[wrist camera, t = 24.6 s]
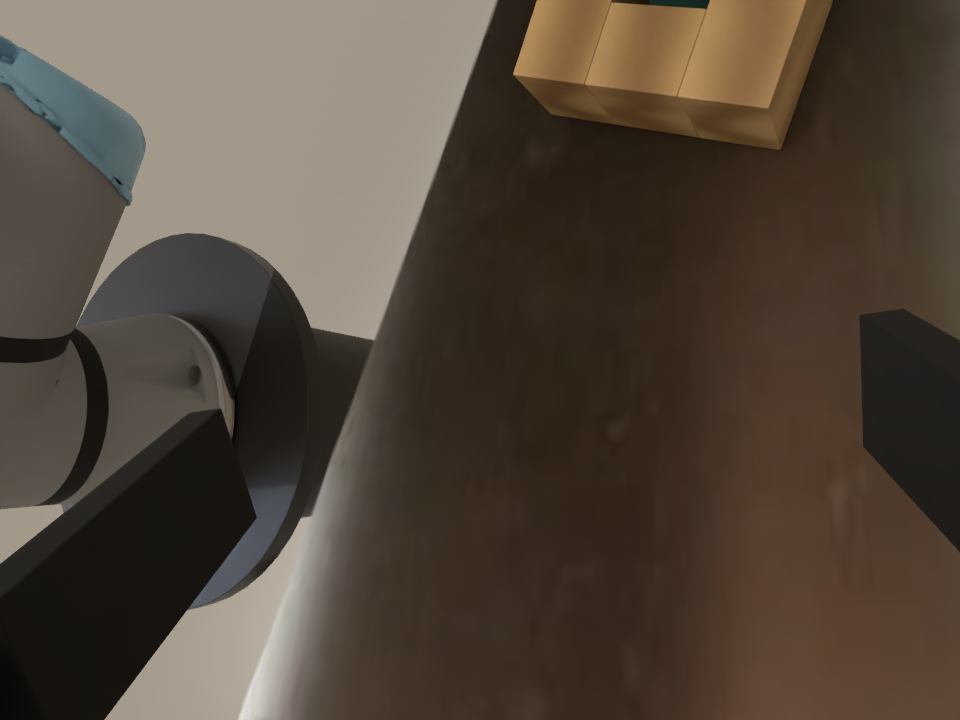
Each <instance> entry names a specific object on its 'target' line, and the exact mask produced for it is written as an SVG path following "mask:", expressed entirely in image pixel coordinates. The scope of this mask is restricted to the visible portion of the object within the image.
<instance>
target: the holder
mask: <svg viewBox="0 0 960 720" xmlns="http://www.w3.org/2000/svg"><path fill="white" fill-rule="evenodd" d="M832 3H833V0H710V2H709V5H708V8H707V10H706V9H701V8H687V7H672V6H658V5H651V4H650V2H649V0H537V2H536V5H535V8H534V12H533V15H532V18H531V21H530V24H529V27H528V30H527V33H526V36H525V39H524V42H523V45H522V49H521V52H520V55H519V58H518V61H517V64H516V67H515V70H514V73H513V75H514V76H515V77H516V78H517V79H518V80H519V81H520V82H521V83H522V85H523V86H524V87H525V88H526V89H527V90H528V91H529V92H530V93H531V94H532V95H533V96H534V97H535V98H536V99H537V100H538V101H539V102H540V103H541V104H542V105H543V106H544V107H545V108H546V109H547V110H548V112H549V113H550V114H552V115H558V116H564V117H571V118H577V119H583V120H590V121H596V122H602V123H609V124H617V125H622V126H629V127H635V128H641V129H648V130H654V131H660V132H667V133H673V134H679V135H686V136H692V137H700V138H705V139H711V140H717V141H724V142H730V143H736V144H743V145H749V146H755V147H761V148H768V149H774V150H781V148H782V145H783V142H784V139H785V136H786V133H787V131H788V128H789V125H790V122H791V119H792V116H793V114H794V111H795V108H796V105H797V102H798V99H799V97H800V94H801V91H802V88H803V85H804V82H805V79H806V77H807V74H808V71H809V68H810V65H811V62H812V60H813V57H814V54H815V51H816V48H817V45H818V42H819V40H820V37H821V34H822V31H823V28H824V25H825V23H826V20H827V17H828V14H829V11H830V8H831V6H832Z"/></svg>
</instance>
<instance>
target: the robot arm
mask: <svg viewBox="0 0 960 720" xmlns="http://www.w3.org/2000/svg"><path fill="white" fill-rule="evenodd" d="M145 146H146V143H145V138H144V135H143V132H142V129H141V127H140V126H139V124H138V123H137V121H136V120H135V119H134V118H133V117H132V116H131V115H130V114H128V113H127V112H126V111H124V110H123V109H121V108H120V107H119V106H117V105H115V104H114V103H112V102H111V101H109V100H108V99H106V98H104V97H103V96H101V95H100V94H98V93H96V92H95V91H93V90H92V89H90V88H88V87H87V86H85V85H83V84H82V83H80V82H79V81H77V80H75V79H74V78H72V77H70V76H69V75H67V74H65V73H64V72H62V71H60V70H59V69H57V68H55V67H54V66H52V65H50V64H49V63H47V62H45V61H44V60H42V59H40V58H38V57H37V56H35V55H33V54H32V53H30V52H28V51H27V50H25V49H23V48H21V47H18V46H17V45H15V44H14V43H12V41H10V40H8V39H6V38H4V37H3V36H1V35H0V509H7V508H19V507H29V506H41V505H54V504H62V505H66V506H70V507H71V508H70V509H68V510H67V511H66V512H65V513H63V514H62V515H61V516H60V517H59V518H57V519H56V520H55V521H53V522H52V523H51V524H50V525H48V527H46V528H45V529H44V530H42V531H41V532H40V533H38V534H37V535H36V536H35V537H34V538H32V539H31V540H30V541H28V542H27V543H26V544H25V545H24V546H22V547H21V548H20V549H18V550H17V551H16V552H15V553H14V554H12V555H11V556H10V557H8V558H7V559H6V560H5V561H3V562H2V563H1V564H0V720H104V719H105V718H106V717H107V715H108V714H109V713H110V711H111V710H112V709H113V707H114V706H115V705H116V703H117V702H118V701H119V700H120V698H121V697H122V696H123V694H124V693H125V692H126V690H127V689H128V688H129V686H130V685H131V684H132V682H133V681H134V680H135V678H136V677H137V676H138V674H139V673H140V672H141V670H142V669H143V668H144V666H145V665H146V664H147V662H148V661H149V660H150V658H151V657H152V656H153V654H154V653H155V652H156V651H157V649H158V648H159V647H160V645H161V644H162V642H163V641H164V640H165V639H166V637H167V636H168V635H169V633H170V632H171V631H172V629H173V628H174V627H175V625H176V624H177V623H178V621H179V620H180V619H181V617H182V616H183V615H184V613H185V612H186V611H187V609H188V608H189V607H190V605H191V604H192V603H193V601H194V600H195V599H196V598H197V596H198V595H199V594H200V592H201V591H202V590H203V588H204V587H205V586H206V584H207V583H208V582H209V580H210V579H211V578H212V576H213V575H214V574H215V572H216V571H217V570H218V568H219V567H220V566H221V564H222V563H223V562H224V560H225V559H226V558H227V556H228V555H229V554H230V552H231V551H232V550H233V549H234V547H235V546H236V545H237V543H238V542H239V541H240V539H241V538H242V537H243V535H244V534H245V533H246V531H247V530H248V529H249V527H250V526H251V525H252V523H253V522H254V521H255V519H256V518H257V517H256V514H255V511H254V508H253V504H252V501H251V498H250V495H249V492H248V489H247V486H246V483H245V480H244V477H243V474H242V471H241V468H240V465H239V462H238V459H237V455H236V452H235V449H234V446H233V445H234V440H235V434H236V427H237V393H236V387H235V381H234V377H233V373H232V370H231V367H230V364H229V361H228V359H227V356H226V354H225V352H224V351H223V349H222V347H221V345H220V344H219V342H218V341H217V340H216V338H215V337H214V336H213V335H212V334H211V333H210V332H209V331H208V330H207V329H206V328H205V327H203V326H202V325H200V324H199V323H197V322H195V321H193V320H190V319H187V318H182V317H177V316H171V315H165V314H146V315H139V316H133V317H128V318H122V319H116V320H111V321H105V322H100V323H94V324H88V325H83V326H77V327H76V324H77V321H78V319H79V317H80V315H81V312H82V310H83V307H84V305H85V303H86V300H87V298H88V295H89V293H90V290H91V288H92V286H93V283H94V281H95V278H96V276H97V274H98V271H99V269H100V266H101V264H102V262H103V259H104V257H105V254H106V252H107V249H108V247H109V245H110V242H111V240H112V237H113V235H114V233H115V230H116V228H117V225H118V223H119V220H120V218H121V216H122V213H123V211H124V208H125V206H129V205H130V204H131V202H132V193H131V190H132V188H133V184H134V182H135V179H136V176H137V173H138V171H139V168H140V165H141V162H142V160H143V157H144V153H145ZM860 342H861V378H862V414H863V447H864V448H865V449H866V450H867V451H868V452H869V453H870V454H871V455H872V456H873V458H874V459H875V460H876V461H877V462H878V463H879V464H880V465H881V466H882V467H883V468H884V470H885V471H886V472H887V473H888V474H889V475H890V476H891V477H892V478H893V479H894V481H895V482H896V483H897V484H898V485H899V486H900V487H901V488H902V489H903V490H904V491H905V493H906V494H907V495H908V496H909V497H910V498H911V499H912V500H913V501H914V502H915V504H916V505H917V506H918V507H919V508H920V509H921V510H922V511H923V512H924V513H925V514H926V516H927V517H928V518H929V519H930V520H931V521H932V522H933V523H934V524H935V525H936V526H937V528H938V529H939V530H940V531H941V532H942V533H943V534H944V535H945V536H946V537H947V539H948V540H949V541H950V542H951V543H952V544H953V545H954V546H955V547H956V548H957V549H958V551H959V552H960V341H959V340H958V339H956V338H954V337H952V336H951V335H949V334H947V333H945V332H943V331H942V330H940V329H938V328H936V327H935V326H933V325H931V324H929V323H928V322H926V321H924V320H922V319H920V318H919V317H917V316H915V315H913V314H912V313H910V312H908V311H906V310H905V309H899V310H892V311H885V312H878V313H871V314H864V315H860Z"/></svg>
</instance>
